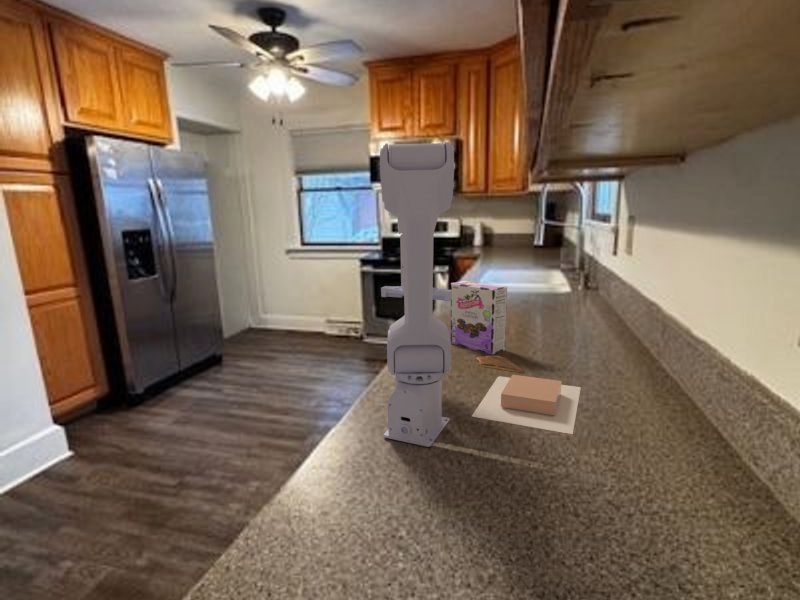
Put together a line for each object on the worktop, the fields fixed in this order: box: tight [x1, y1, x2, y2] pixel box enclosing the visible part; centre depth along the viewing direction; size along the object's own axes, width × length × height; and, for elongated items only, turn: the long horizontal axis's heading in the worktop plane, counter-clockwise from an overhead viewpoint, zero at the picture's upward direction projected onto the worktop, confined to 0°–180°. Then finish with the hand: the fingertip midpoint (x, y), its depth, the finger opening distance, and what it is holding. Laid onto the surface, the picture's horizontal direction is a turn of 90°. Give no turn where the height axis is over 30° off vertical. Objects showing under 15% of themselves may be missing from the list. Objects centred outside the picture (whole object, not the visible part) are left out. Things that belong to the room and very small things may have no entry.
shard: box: [476, 355, 525, 373], centre depth 99 cm, size 11×8×2 cm
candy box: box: [450, 279, 508, 356], centre depth 114 cm, size 14×6×16 cm, turn 42°
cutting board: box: [471, 375, 582, 435], centre depth 81 cm, size 20×16×1 cm
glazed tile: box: [501, 374, 563, 416], centre depth 81 cm, size 10×3×9 cm
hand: (416, 333), depth 91 cm, fingers closed
